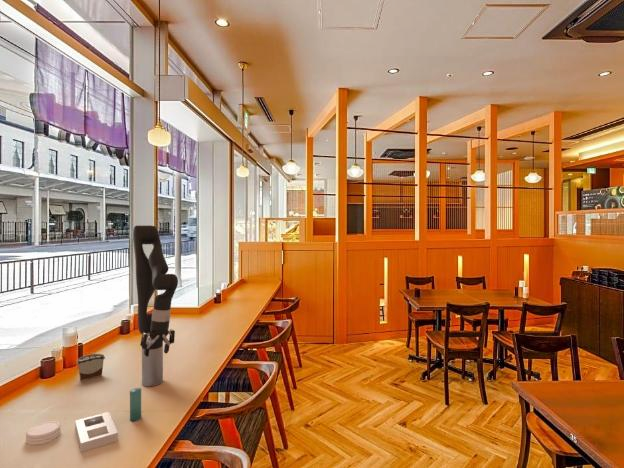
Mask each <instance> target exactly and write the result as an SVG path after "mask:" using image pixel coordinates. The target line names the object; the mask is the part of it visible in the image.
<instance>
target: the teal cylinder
mask: <svg viewBox="0 0 624 468" xmlns="http://www.w3.org/2000/svg"><path fill="white" fill-rule="evenodd" d="M141 419H142V389H141V388H140V387H136V388H132V389H130V390H129V421H131V422H137V421H139V420H141Z"/></svg>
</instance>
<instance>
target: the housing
mask: <svg viewBox="0 0 624 468" xmlns="http://www.w3.org/2000/svg"><path fill="white" fill-rule="evenodd" d="M74 423H75V424H74V425H75V426H74V427H75V433H76V436H77V442H78V446H79V450H80V453H83V452H88V451H90V450H94V449H97V448H100V447H103V446H106V445H109V444H113V443H116V442H118V441H119V438H118V437H119V434H118V433H119V432H118V430H117V427H116V426H115V423H114V421H113V418H112V417H111V413H110V412H109V411H106V412H103V413H99V414H96V415H91V416H87V417H84V418H80V419H76V420H75V421H74Z"/></svg>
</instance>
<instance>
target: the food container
mask: <svg viewBox="0 0 624 468" xmlns="http://www.w3.org/2000/svg"><path fill="white" fill-rule="evenodd" d="M104 360H106V356H105V354H102V353H93V354H92V353H91V354H86V355H83V356H81V357H79V358H78V359H77V360H76V366H78V373H79V381H81V382H82V381H85V380H90V379H94V378H97V377H102V376H103V368H104Z"/></svg>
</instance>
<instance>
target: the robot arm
mask: <svg viewBox="0 0 624 468" xmlns="http://www.w3.org/2000/svg"><path fill="white" fill-rule="evenodd" d="M131 236H132V245H133V252H134V261H135V281H136V291H137V293H136V294H137V327H138V331H139V334H141V338H140V339H141V341H140V343H139V345H140V347H141V385H142V386H143V387H155V386H158V385H160V384H162V383H163V382H164V380H163V379H164V369H163V368H164V353H165V354H168V353H169V351H170V345H171V344H174V343H175V337H176V336H175V335H176V331H175V330H174V329H172V328H171V329H169V328H170V319H171V307H172V301H173V299H174V298H173V297H174V294H176V293H175V292H176V290H177V287H178V285H179V278H178V277H177V275H176V274H175V273H168V271H169V266H168V264H167V261H166V259H165V256H164V253H163V248H162V243H161V238H160V235H159V230H158V228H157V227H156V226H154V225H135V226H133V228H132V233H131ZM143 245H152V246H153V248H152V249H151V252H150V254H149V256H147V255H146V253H145V251H144V246H143ZM156 290H157V291H164V292H162V293H160V294H157V295H155V297H154V300H153V301H154V302H153V308H152V309H153V310H152V312H150V313H148V305H149V303H150V300H151V299H152V297H153V294H154V293H155V291H156ZM168 335H169V338H167V336H168Z"/></svg>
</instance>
